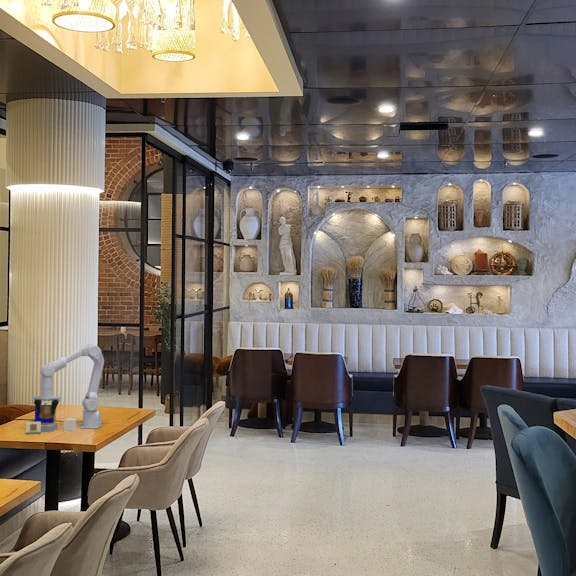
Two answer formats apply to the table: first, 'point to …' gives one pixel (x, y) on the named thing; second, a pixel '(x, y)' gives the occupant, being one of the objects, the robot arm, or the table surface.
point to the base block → (48, 427)
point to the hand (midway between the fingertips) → (46, 414)
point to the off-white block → (70, 424)
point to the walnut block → (46, 412)
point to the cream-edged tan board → (33, 427)
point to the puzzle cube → (38, 419)
